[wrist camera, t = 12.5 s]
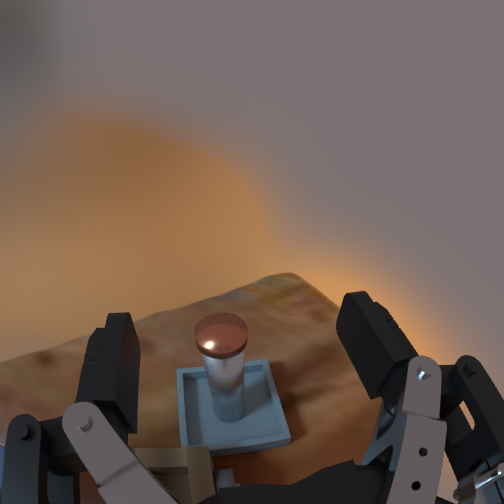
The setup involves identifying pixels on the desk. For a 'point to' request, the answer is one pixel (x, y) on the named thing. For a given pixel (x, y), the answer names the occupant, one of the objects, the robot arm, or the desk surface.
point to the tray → (237, 433)
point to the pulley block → (186, 471)
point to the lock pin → (224, 362)
